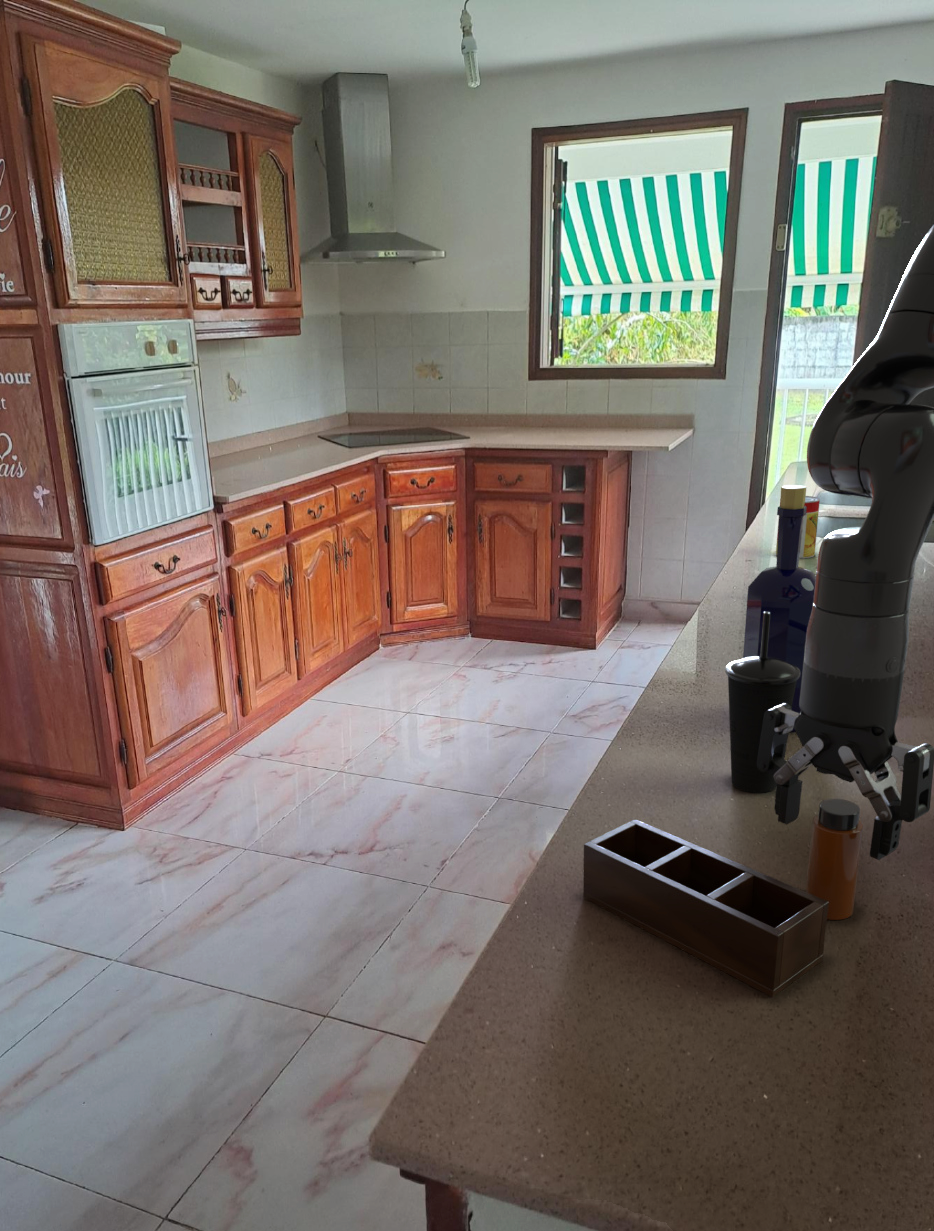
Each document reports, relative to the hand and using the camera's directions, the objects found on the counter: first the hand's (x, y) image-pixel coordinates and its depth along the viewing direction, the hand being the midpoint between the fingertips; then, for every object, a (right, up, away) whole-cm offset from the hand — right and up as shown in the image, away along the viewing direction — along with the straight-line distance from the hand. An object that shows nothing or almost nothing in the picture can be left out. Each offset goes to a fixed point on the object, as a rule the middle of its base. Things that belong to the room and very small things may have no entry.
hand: (831, 837), depth 86 cm
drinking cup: (+2, +2, +26) cm, 26 cm away
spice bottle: (+1, -7, +2) cm, 7 cm away
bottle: (+11, +9, +43) cm, 45 cm away
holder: (-12, -8, +1) cm, 14 cm away
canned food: (+47, +43, +128) cm, 143 cm away
